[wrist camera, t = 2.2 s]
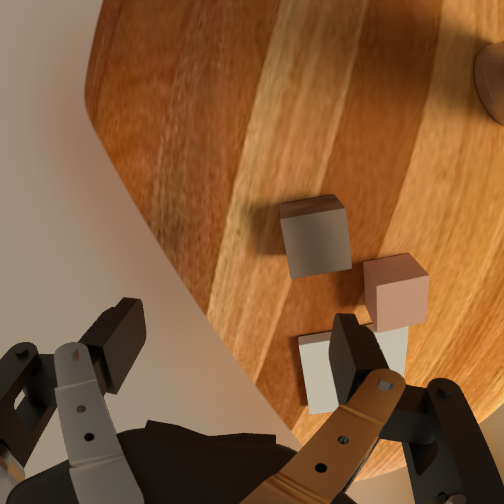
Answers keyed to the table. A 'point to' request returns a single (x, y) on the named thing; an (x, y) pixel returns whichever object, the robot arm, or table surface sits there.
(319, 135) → the table surface
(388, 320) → the pink cube
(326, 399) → the base plate
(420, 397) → the robot arm
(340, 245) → the walnut brick
